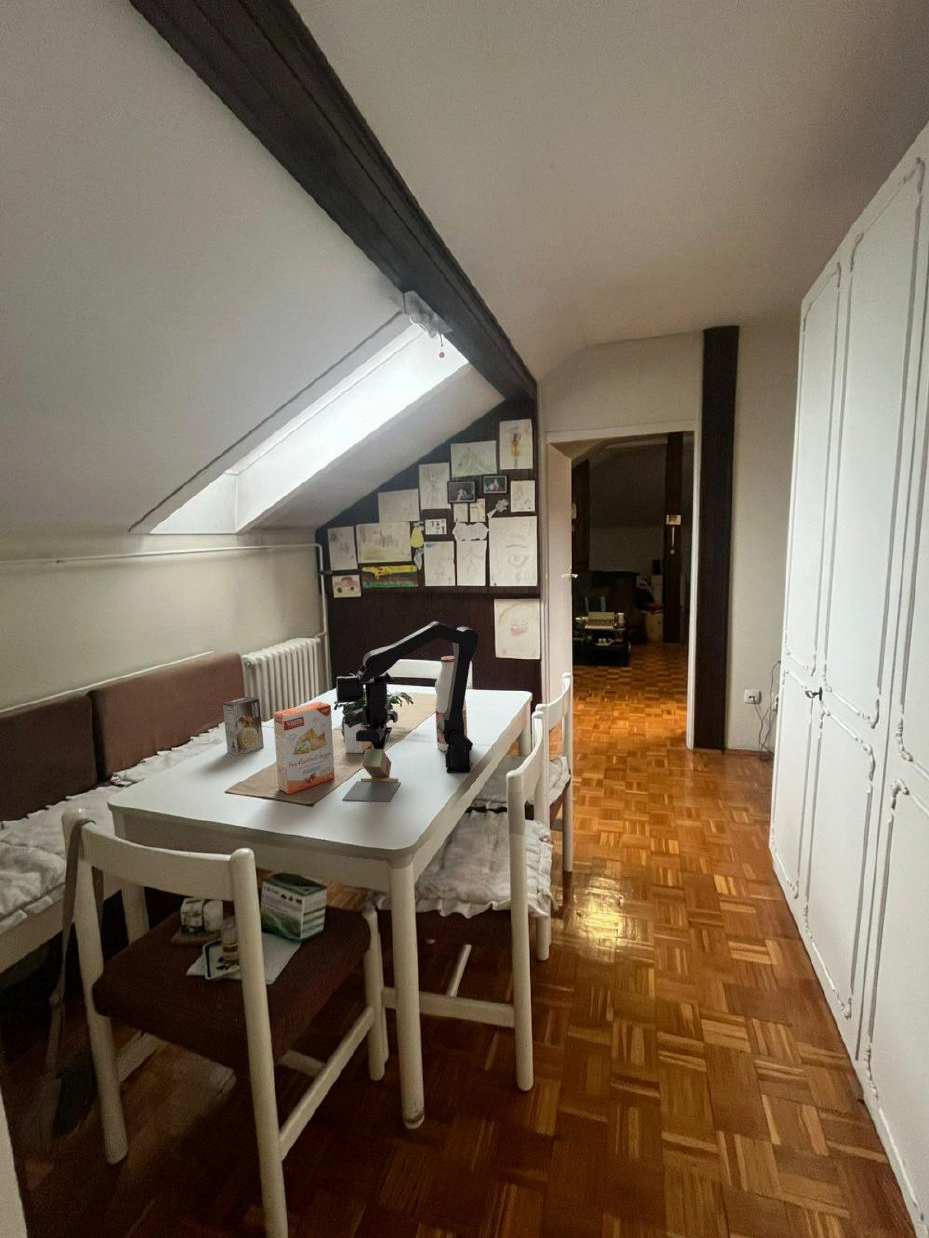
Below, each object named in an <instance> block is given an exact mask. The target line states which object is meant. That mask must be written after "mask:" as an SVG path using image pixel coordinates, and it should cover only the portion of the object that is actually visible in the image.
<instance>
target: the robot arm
mask: <svg viewBox="0 0 929 1238" xmlns="http://www.w3.org/2000/svg"><path fill="white" fill-rule="evenodd" d="M436 639H442V640H445V641H448V642H451V643H452V651H453V656H454V666H453V672H452V679H451V686H450V692H449V699H448V706H447V710H446V712H445V713H444V715H443V714H439V723H438V725H437V728H438V730H439V734H440V736H441V737H442V738H443V740H444V741H445V742H446V743H447V744H448V745H449V746H448V748H447V751H445V753H444V755H445V757H444V758H445V760H444V761H445V768H446V773H466V774H467V773H471V770H472V768H473V765H474V763H473V762H472V749H473V746H474V743H473V742H472V741H471V739H469V738H468V735H467V736H466V735H465V731H464V719H463V706H464V700H466V692H467V685H468V679H469V672H470V667H471V662H472V660H473V659H474V656H475V654H476V653H477V649H478V646H479V643H480V636H479V633H477V632H476V631H475V630H474V629H472V628H469V627H468V626H459V627H455V626H452V625H448V624H444V623H441V622H439V621H435V620H434V621H432V622H430V623H429V624H428V625H426V626H425V627H423V628H420V629H419V630H417V631H415V632H413V633H412V634H409V635H408V636H406V637H403V639H401V640H399V641H396V642H395V643H392V644H390V645H387V646H383V647H379V648H376V649H372V650H371V651H368V652H367V653H366V654H365V655H364V657H363V659H362V665H361V666H360V668H359V670H358V671H357V672H356V675H352V676H340V675H339V676H336V687H335V693H336V703H337V704H347V703H357V702H360V700H362V698H364V694H365V704H363V706H362V707H361V708H359V709H356V710H354V711H353V710H352V711H350V712H347V713H345V715H344V718H343V720H345V721H343V724H344V723H345V724H347V725H348V727H349V728H351V727H353V726H355V725H357V724H360V723H363V725H369V726H363V727H362V728H361V729H360V730H359V731H358V732H357V733H356V741H360V742H371V745H372V746H373V749H382V750H383V751H384V752H385V747H386V745H387V743H388V740H389V737H390V735H391V733H392V730H393V727H391V726H388V723H389V722H390V721H392V722H393V724H394V723H395V724H396V723H397V722H398V721H399V714H398V713H397V711H395V710H389V706H390V705H391V701H390V700H388V699H389V698H388V697H389V696H388V683H390V684H391V683H394V682H395V679H394V677H392V676H391V675H390V674H389V672H388V670H390V669H391V668H393V666H395V664H396V663H397V662H398V661H400V660H401V659H402V658H404V657H406V656H408V655H410V654H412V653H414V652H415V651H416V650H419V649H420V648H423V647H424V646H427V645H428V644H429V643H431V642H433V641H435V640H436ZM364 691H365V693H364Z"/></svg>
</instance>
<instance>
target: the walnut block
mask: <svg viewBox="0 0 929 1238" xmlns="http://www.w3.org/2000/svg"><path fill="white" fill-rule="evenodd" d="M362 761H363V762H362V767H363V768H364V770H366V772H367V773H368V774H369V777H387V778H391V777H390V776H391V770H392V769H391V768H392V761H391V759H390V758H389V757H388V755H387V754H386V753H385V750H384V751H383V750H382V749H374V748H367V749H365V751H364V755H363V760H362Z"/></svg>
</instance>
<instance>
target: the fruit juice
mask: <svg viewBox="0 0 929 1238" xmlns="http://www.w3.org/2000/svg"><path fill="white" fill-rule="evenodd" d="M440 664H441V669H440V672H439V676H438V678H437V679H436V681H435V685H434V690H435V693H436V699H435V705H434V707H435V710H434V711H435V727H436V747H437V748H438V749H439V750H440V751H444V752H446V751H447V748H448V746H449V745H448V744H447V743H446V742H445V741H444V740H443V738H442V737H441V736H440V734H439V730H438V728H437V725H438V723H439V714H443V715H444V713H445V712H446V710H447V706H448V699H449V692H450V686H451V679H452V672H453V666H454V655H447V656H442V657H440ZM463 719H464V731H465V735H466V736H467V737H468V721H467V720H468V719H467V701H466V699H465V700H464V706H463Z"/></svg>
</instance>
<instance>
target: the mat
mask: <svg viewBox="0 0 929 1238" xmlns="http://www.w3.org/2000/svg"><path fill="white" fill-rule="evenodd" d="M401 783H402V782H401V781H398V782H370V781H361V780H360V781H359V780H356V781H355V783H354V784H353V785H352V787H351V788H350V789H349V791H348V792H346V794H345V795H344V797H343V798H342V800H341V801H348V802H349V801H350V802H351V801H352V802H353V801H354V802H379V803H380V802H383V803H384V802H385V803H390V802H391V800H392V798H393V797H394V795H395V794H396V792H397V791H398V789H399V787H400V786H401Z"/></svg>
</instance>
